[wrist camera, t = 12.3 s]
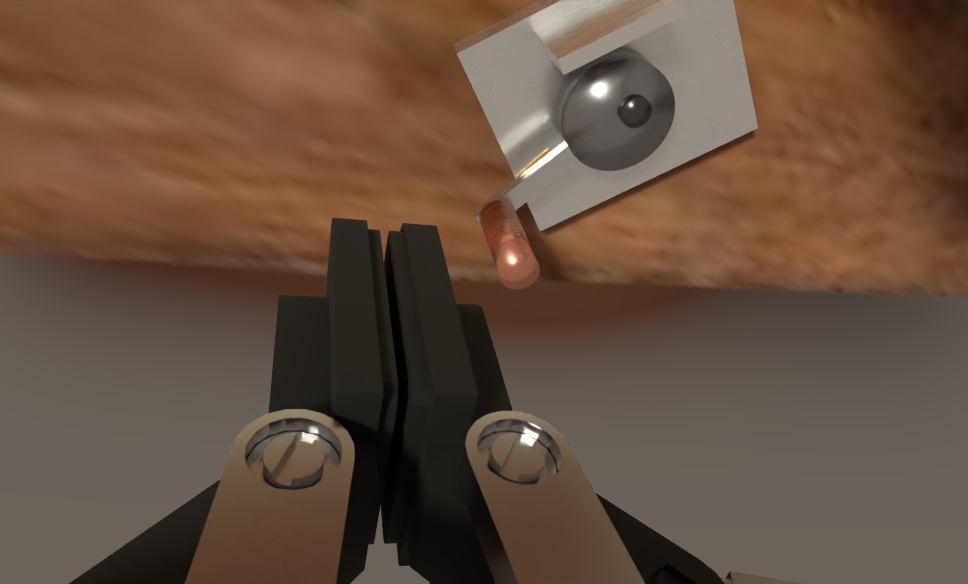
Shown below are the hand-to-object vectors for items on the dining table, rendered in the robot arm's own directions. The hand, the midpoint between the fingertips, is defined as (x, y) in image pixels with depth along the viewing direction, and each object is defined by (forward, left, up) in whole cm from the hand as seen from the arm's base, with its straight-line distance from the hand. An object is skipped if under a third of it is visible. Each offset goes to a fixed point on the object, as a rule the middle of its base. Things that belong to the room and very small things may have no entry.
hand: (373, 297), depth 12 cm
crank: (-6, +13, -25) cm, 29 cm away
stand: (-10, +12, -27) cm, 31 cm away
